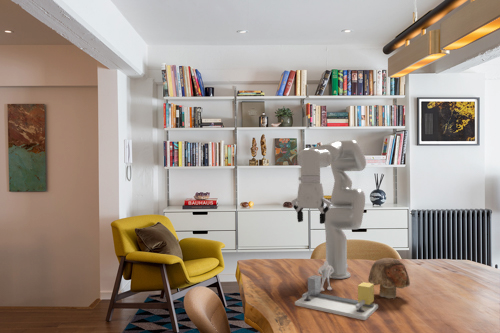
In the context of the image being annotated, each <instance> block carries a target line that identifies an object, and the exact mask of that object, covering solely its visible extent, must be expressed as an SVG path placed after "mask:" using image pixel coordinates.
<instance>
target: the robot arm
mask: <svg viewBox="0 0 500 333" xmlns="http://www.w3.org/2000/svg"><path fill="white" fill-rule="evenodd" d="M296 160H297V163H298V165H299V166H300V172H301V175H300V176H299V177H298V181H300V182H301V183H300V182H299V184H298V190H297V197H296V198H294V199H293V200H291V205H292V206H293V208H294V210H295V212H296V214H297V215H296V216H297V217H296V218H297V222H298V223H301V222H304V212H303V210H304V209H312V210H313V209H315V210H318V211H319V212H320V213H319V224H320V225H322V224H323V225H324V230H325V261H327V262H328V265H330V266H332V267H333V269H334V272H333V273H332V274H330V276H331V277H330V276H329V279H336V280H341V279H348V278H350V277H351V273H350V272H349V271H348V268H349V264H348V258H347V256H348V255H347V248H348V247H347V245H348V244H347V243H348V242H347V236H346V234H345V232H344V230H345V229H346V230H359V229H360V228H361V226H362V223H363V216H364V211H365V205H366V195H365V192H364V191H363V190H362V189H360V188H352V186H353V181H352V179H351V178H350V176H349V175H348V174H347V173H346V172H362V171H364V170H365V168H366V166H367V160H366V156H365V154H364V152H363V149H362V147H361V146H360V144H359V143H358V141H356V140H354V139H347V140H345V139H344V140H333V141H331V142H329V143H327V144H322V145H321V144H320V145H318V146H317V145H316V146H312V147H307V148H304V149H301V150H300V151H299V153H298V154H297V159H296ZM329 166H330V169H331V172H332V176H333V178H334V182H333V188H332V192H331V196H330V200H328V199H326V198H325V195H324V187H323V184H322V183H321V168H327V167H329ZM325 205H326V206H325ZM324 206H325V207H324ZM330 271H331V270H330Z"/></svg>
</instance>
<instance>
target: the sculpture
mask: <svg viewBox="0 0 500 333" xmlns="http://www.w3.org/2000/svg"><path fill="white" fill-rule="evenodd" d="M367 279H368V280H367V281H368V283H371V284H374V286H378V285H379V297H381V298H385V299H388V298H393V299H395V298H396V297H397V289H404V288H407V287H410V282H411V281H410V277H409V273H408V271H407V268H406V266H405V264H404V263H403V262H402V261H401V260H399V259H397V258H396V259H395V258H392V257H384V258H380V259H377V260H376V261H375V262H373V264H372V265H371V267H370V270H369V276H368V278H367Z"/></svg>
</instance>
